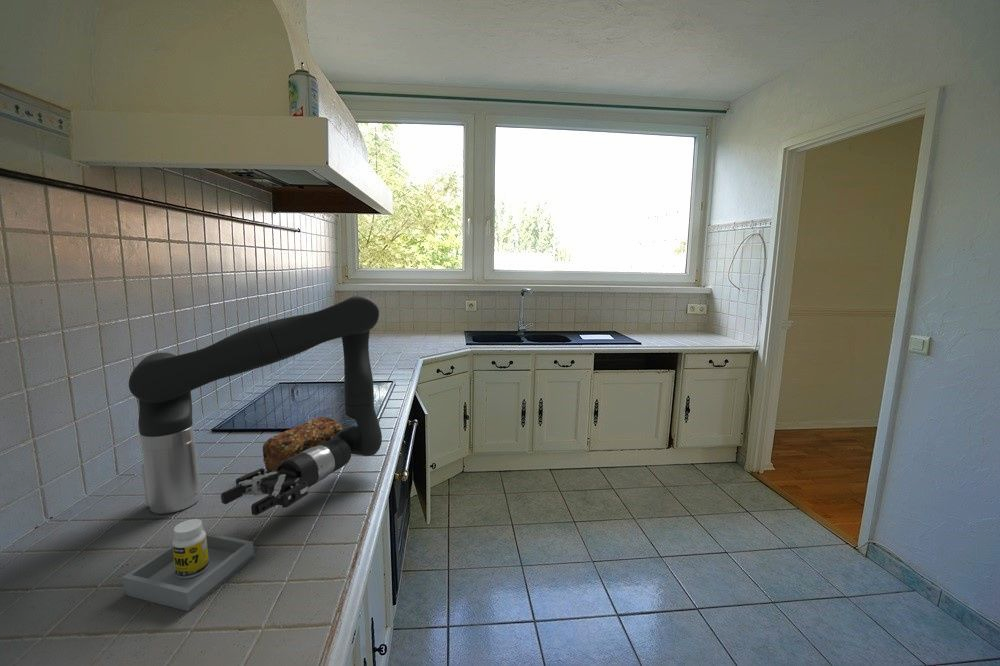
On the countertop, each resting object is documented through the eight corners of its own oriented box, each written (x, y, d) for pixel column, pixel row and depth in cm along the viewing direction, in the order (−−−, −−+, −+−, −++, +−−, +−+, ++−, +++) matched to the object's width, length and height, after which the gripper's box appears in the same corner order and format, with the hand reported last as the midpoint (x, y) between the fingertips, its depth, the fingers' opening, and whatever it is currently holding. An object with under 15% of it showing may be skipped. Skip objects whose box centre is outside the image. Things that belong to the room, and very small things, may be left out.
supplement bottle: (171, 582, 75) (164, 536, 73) (182, 563, 79) (177, 519, 78) (204, 576, 76) (198, 531, 74) (213, 558, 80) (208, 515, 79)
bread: (322, 445, 130) (320, 412, 128) (349, 453, 125) (347, 418, 124) (262, 472, 114) (258, 434, 112) (290, 482, 109) (287, 443, 107)
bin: (125, 594, 73) (122, 577, 72) (197, 545, 85) (195, 530, 85) (189, 611, 70) (186, 593, 69) (254, 557, 82) (252, 541, 81)
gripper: (283, 445, 100) (210, 477, 86) (331, 458, 95) (261, 495, 80) (285, 477, 102) (214, 513, 87) (333, 491, 96) (265, 533, 81)
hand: (237, 505), depth 84 cm, fingers open, 8 cm apart
